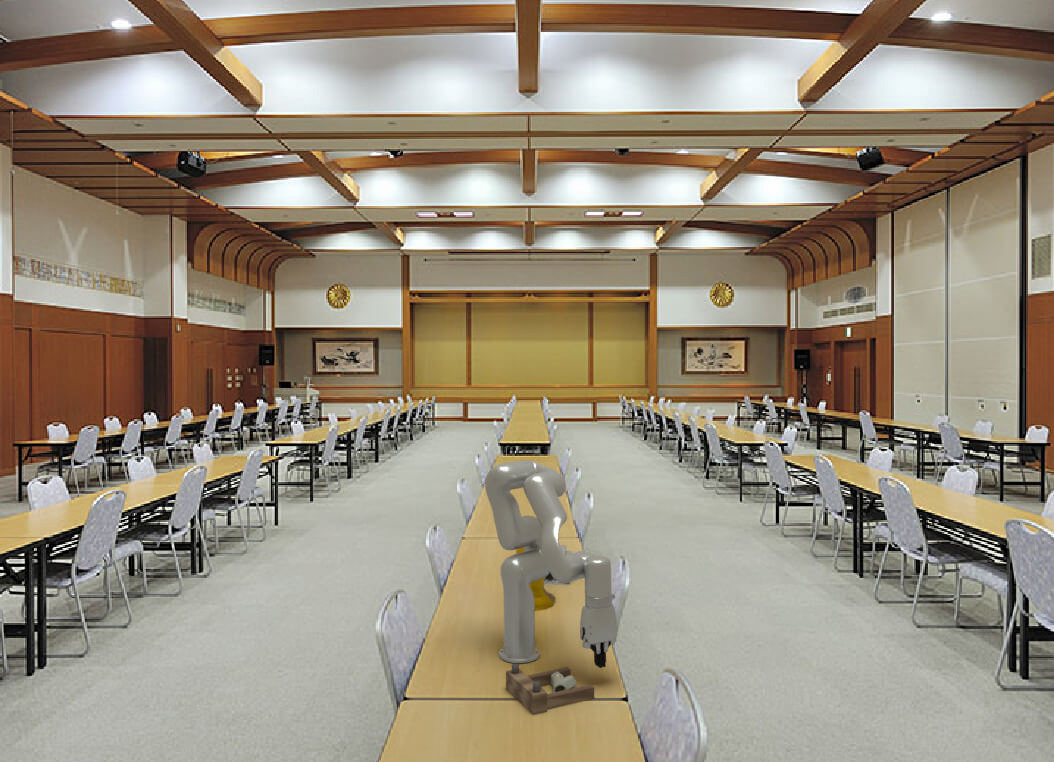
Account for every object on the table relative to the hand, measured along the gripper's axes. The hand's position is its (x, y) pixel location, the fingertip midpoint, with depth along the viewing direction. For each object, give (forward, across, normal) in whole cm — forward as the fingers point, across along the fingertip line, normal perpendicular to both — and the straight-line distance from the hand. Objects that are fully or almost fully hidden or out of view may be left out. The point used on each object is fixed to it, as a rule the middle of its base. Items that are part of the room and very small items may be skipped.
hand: (600, 665), depth 208 cm
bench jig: (+5, +17, -1) cm, 17 cm away
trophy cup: (+4, -14, -73) cm, 74 cm away
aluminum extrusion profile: (+3, -41, -103) cm, 111 cm away
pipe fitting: (+6, +11, -2) cm, 12 cm away
